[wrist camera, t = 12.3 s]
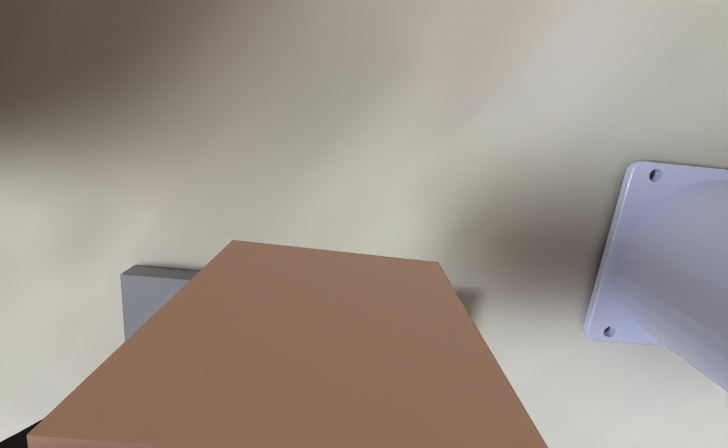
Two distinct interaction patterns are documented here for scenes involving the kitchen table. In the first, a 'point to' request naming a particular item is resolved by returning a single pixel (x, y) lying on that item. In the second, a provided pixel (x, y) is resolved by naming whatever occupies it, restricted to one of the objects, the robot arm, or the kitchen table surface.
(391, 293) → the terracotta block
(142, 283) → the shape board
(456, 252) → the kitchen table surface
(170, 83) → the kitchen table surface
